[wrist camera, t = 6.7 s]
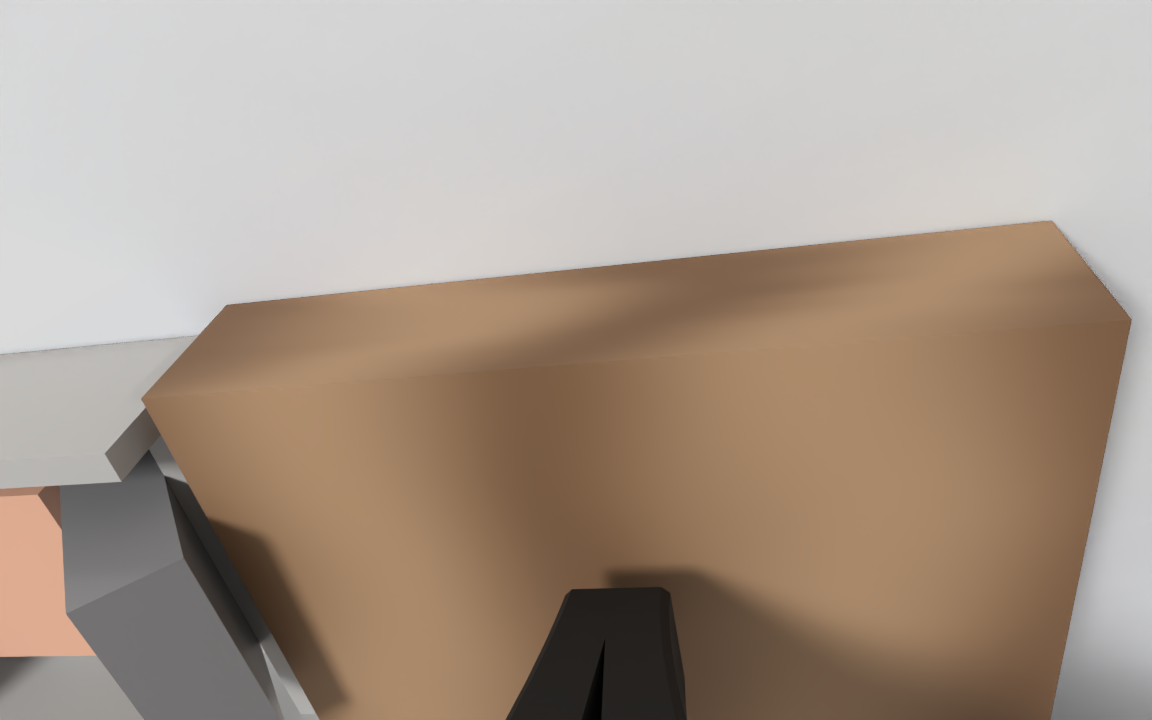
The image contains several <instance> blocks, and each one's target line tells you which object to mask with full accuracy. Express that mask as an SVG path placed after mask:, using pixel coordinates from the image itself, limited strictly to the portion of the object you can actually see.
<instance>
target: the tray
mask: <svg viewBox="0 0 1152 720" xmlns="http://www.w3.org/2000/svg"><path fill="white" fill-rule="evenodd" d="M197 337H198V336H190V337H179V338H169V339H158V340H148V341H137V342H127V343H116V344H105V345H95V346H84V347H74V348H63V349H53V350H42V351H32V352H21V353H11V354H0V489H6V488H23V487H41V486H58V485H75V484H92V483H109V482H122V481H123V480H124V478H125V477H126V476H127V475H128V474H129V472H130V471H131V470H132V469H133V468H134V466H135V465H136V464H137V463H138V462H139V460H140V459H141V458H142V457H143V456H144V454H145V453H146V452H147V451H148V450H150V452H151V454H152V456H153V457H154V459H155V461H156V463H157V464H158V466H159V468H160V470H161V471H162V473H163V475H164V476H165V478H166V480H167V482H168V483H169V485H170V487H171V489H172V490H173V492H174V494H175V496H176V497H177V499H178V501H179V503H180V504H181V506H182V508H183V510H184V511H185V513H186V515H187V517H188V518H189V520H190V522H191V524H192V525H193V527H194V529H195V531H196V532H197V534H198V536H199V538H200V539H201V541H202V543H203V545H204V546H205V548H206V550H207V552H208V553H209V555H210V557H211V559H212V560H213V562H214V564H215V566H216V567H217V569H218V571H219V573H220V574H221V576H222V578H223V580H224V581H225V583H226V585H227V587H228V588H229V590H230V592H231V594H232V595H233V597H234V599H235V600H236V602H237V604H238V606H239V607H240V609H241V611H242V613H243V614H244V616H245V618H246V620H247V621H248V623H249V625H250V627H251V628H252V630H253V632H254V634H255V635H256V637H257V639H258V641H259V642H260V645H261V648H262V651H263V654H264V658H265V661H266V664H267V667H268V670H269V673H270V676H271V680H272V683H273V686H274V689H275V692H276V695H277V698H278V702H279V705H280V708H281V711H282V714H283V717H284V720H319V718H318V716H317V714H316V713H315V711H314V709H313V707H312V705H311V704H310V702H309V700H308V698H307V697H306V695H305V693H304V691H303V689H302V688H301V686H300V684H299V682H298V680H297V679H296V677H295V675H294V673H293V671H292V670H291V668H290V666H289V664H288V662H287V661H286V659H285V657H284V655H283V653H282V652H281V650H280V648H279V646H278V644H277V643H276V641H275V639H274V637H273V635H272V634H271V632H270V630H269V628H268V626H267V625H266V623H265V621H264V619H263V617H262V616H261V614H260V612H259V610H258V608H257V607H256V605H255V603H254V601H253V599H252V598H251V596H250V594H249V592H248V590H247V589H246V587H245V585H244V583H243V581H242V580H241V578H240V576H239V574H238V572H237V571H236V569H235V567H234V565H233V563H232V562H231V560H230V558H229V556H228V554H227V553H226V551H225V549H224V547H223V545H222V544H221V542H220V540H219V538H218V537H217V535H216V533H215V531H214V529H213V528H212V526H211V524H210V522H209V520H208V519H207V517H206V515H205V513H204V511H203V510H202V508H201V506H200V504H199V502H198V501H197V499H196V497H195V495H194V493H193V492H192V490H191V488H190V486H189V484H188V483H187V481H186V479H185V477H184V475H183V474H182V472H181V470H180V468H179V466H178V465H177V463H176V461H175V459H174V457H173V456H172V454H171V452H170V450H169V448H168V447H167V445H166V443H165V441H164V439H163V438H162V436H161V434H160V432H159V430H158V429H157V427H156V425H155V423H154V421H153V420H152V418H151V416H150V414H149V412H148V411H147V409H146V407H145V405H144V403H143V402H142V400H141V398H142V397H143V396H144V395H145V394H146V392H147V391H148V390H149V389H150V388H151V387H152V386H153V385H154V384H155V383H156V382H157V380H158V379H159V378H160V377H161V376H162V375H163V374H164V373H165V372H166V371H167V370H168V368H169V367H170V366H171V365H172V364H173V363H174V362H175V361H176V360H177V359H178V358H179V356H180V355H181V354H182V353H183V352H184V351H185V350H186V349H187V348H188V347H189V346H190V344H191V343H192V342H193V341H194V340H195V339H196V338H197ZM0 720H144V719H143V718H142V716H141V715H140V714H139V712H138V711H137V709H136V708H135V707H134V705H133V704H132V703H131V701H130V700H129V699H128V697H127V696H126V695H125V693H124V692H123V691H122V689H121V688H120V686H119V685H118V684H117V682H116V681H115V680H114V678H113V677H112V676H111V674H110V673H109V672H108V670H107V669H106V668H105V666H104V665H103V663H102V662H101V661H100V659H99V658H98V657H97V656H25V657H0Z"/></svg>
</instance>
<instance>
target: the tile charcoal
mask: <svg viewBox="0 0 1152 720" xmlns="http://www.w3.org/2000/svg"><path fill="white" fill-rule="evenodd" d="M60 505H61V525H62V546H63V566H64V587H65V608H66V615H67V616H68V617H69V619H70V620H71V621H72V623H73V624H74V626H75V627H76V628H77V630H78V631H79V632H80V634H81V635H82V636H83V638H84V639H85V640H86V642H87V643H88V644H89V646H90V647H91V649H92V650H93V651H94V653H95V654H96V655H97V657H98V658H99V659H100V661H101V662H102V663H103V665H104V666H105V668H106V669H107V670H108V672H109V673H110V674H111V676H112V677H113V678H114V680H115V681H116V682H117V684H118V685H119V686H120V688H121V689H122V691H123V692H124V693H125V695H126V696H127V697H128V699H129V700H130V701H131V703H132V704H133V705H134V707H135V708H136V709H137V711H138V712H139V714H140V715H141V716H142V718H143V719H144V720H284V717H283V714H282V711H281V708H280V705H279V702H278V698H277V695H276V692H275V689H274V686H273V683H272V680H271V676H270V673H269V670H268V667H267V664H266V661H265V658H264V654H263V651H262V648H261V645H260V642H259V641H258V639H257V637H256V635H255V634H254V632H253V630H252V628H251V627H250V625H249V623H248V621H247V620H246V618H245V616H244V614H243V613H242V611H241V609H240V607H239V606H238V604H237V602H236V600H235V599H234V597H233V595H232V594H231V592H230V590H229V588H228V587H227V585H226V583H225V581H224V580H223V578H222V576H221V574H220V573H219V571H218V569H217V567H216V566H215V564H214V562H213V560H212V559H211V557H210V555H209V553H208V552H207V550H206V548H205V546H204V545H203V543H202V541H201V539H200V538H199V536H198V534H197V532H196V531H195V529H194V527H193V525H192V524H191V522H190V520H189V518H188V517H187V515H186V513H185V511H184V510H183V508H182V506H181V504H180V503H179V501H178V499H177V497H176V496H175V494H174V492H173V490H172V489H171V487H170V485H169V483H168V482H167V480H166V478H165V476H164V475H163V473H162V471H161V470H160V468H159V466H158V464H157V463H156V461H155V459H154V457H153V456H152V454H151V452H150V450H148V451H147V452H146V453H145V454H144V456H143V457H142V458H141V459H140V460H139V462H138V463H137V464H136V465H135V466H134V468H133V469H132V470H131V471H130V472H129V474H128V475H127V476H126V477H125V478H124V480H123V481H122V482H109V483H92V484H75V485H60Z"/></svg>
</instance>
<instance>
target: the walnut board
mask: <svg viewBox="0 0 1152 720" xmlns="http://www.w3.org/2000/svg"><path fill="white" fill-rule="evenodd" d="M1131 320H1132V319H1131V318H1130V317H1129V316H1128V314H1127V313H1126V312H1125V311H1124V309H1123V308H1122V307H1121V306H1120V305H1119V303H1118V302H1117V301H1116V300H1115V298H1114V297H1113V296H1112V295H1111V293H1110V292H1109V291H1108V290H1107V288H1106V287H1105V286H1104V285H1103V283H1102V282H1101V281H1100V280H1099V279H1098V277H1097V276H1096V275H1095V274H1094V272H1093V271H1092V270H1091V269H1090V267H1089V266H1088V265H1087V264H1086V262H1085V261H1084V260H1083V259H1082V258H1081V256H1080V255H1079V254H1078V253H1077V251H1076V250H1075V249H1074V248H1073V246H1072V245H1071V244H1070V243H1069V241H1068V240H1067V239H1066V238H1065V236H1064V235H1063V234H1062V233H1061V232H1060V230H1059V229H1058V228H1057V227H1056V225H1055V224H1054V223H1053V222H1052V221H1043V222H1033V223H1023V224H1013V225H1003V226H994V227H984V228H974V229H964V230H955V231H945V232H935V233H925V234H916V235H906V236H896V237H886V238H877V239H867V240H857V241H847V242H838V243H828V244H818V245H808V246H798V247H789V248H779V249H769V250H759V251H750V252H740V253H730V254H720V255H711V256H701V257H691V258H681V259H672V260H662V261H652V262H642V263H632V264H623V265H613V266H603V267H593V268H584V269H574V270H564V271H554V272H545V273H535V274H525V275H515V276H506V277H496V278H486V279H476V280H467V281H457V282H447V283H437V284H427V285H418V286H408V287H398V288H388V289H379V290H369V291H359V292H349V293H340V294H330V295H320V296H310V297H301V298H291V299H281V300H271V301H262V302H252V303H242V304H232V305H226V306H225V307H224V308H223V310H222V311H221V312H220V313H219V314H218V315H217V316H216V317H215V318H214V319H213V320H212V322H211V323H210V324H209V325H208V326H207V327H206V328H205V329H204V330H203V331H202V332H201V334H200V335H199V336H198V337H197V338H196V339H195V340H194V341H193V342H192V343H191V344H190V346H189V347H188V348H187V349H186V350H185V351H184V352H183V353H182V354H181V355H180V356H179V358H178V359H177V360H176V361H175V362H174V363H173V364H172V365H171V366H170V367H169V368H168V370H167V371H166V372H165V373H164V374H163V375H162V376H161V377H160V378H159V379H158V380H157V382H156V383H155V384H154V385H153V386H152V387H151V388H150V389H149V390H148V391H147V392H146V394H145V395H144V396H143V397H142V398H141V400H142V402H143V403H144V405H145V407H146V409H147V411H148V412H149V414H150V416H151V418H152V420H153V421H154V423H155V425H156V427H157V429H158V430H159V432H160V434H161V436H162V438H163V439H164V441H165V443H166V445H167V447H168V448H169V450H170V452H171V454H172V456H173V457H174V459H175V461H176V463H177V465H178V466H179V468H180V470H181V472H182V474H183V475H184V477H185V479H186V481H187V483H188V484H189V486H190V488H191V490H192V492H193V493H194V495H195V497H196V499H197V501H198V502H199V504H200V506H201V508H202V510H203V511H204V513H205V515H206V517H207V519H208V520H209V522H210V524H211V526H212V528H213V529H214V531H215V533H216V535H217V537H218V538H219V540H220V542H221V544H222V545H223V547H224V549H225V551H226V553H227V554H228V556H229V558H230V560H231V562H232V563H233V565H234V567H235V569H236V571H237V572H238V574H239V576H240V578H241V580H242V581H243V583H244V585H245V587H246V589H247V590H248V592H249V594H250V596H251V598H252V599H253V601H254V603H255V605H256V607H257V608H258V610H259V612H260V614H261V616H262V617H263V619H264V621H265V623H266V625H267V626H268V628H269V630H270V632H271V634H272V635H273V637H274V639H275V641H276V643H277V644H278V646H279V648H280V650H281V652H282V653H283V655H284V657H285V659H286V661H287V662H288V664H289V666H290V668H291V670H292V671H293V673H294V675H295V677H296V679H297V680H298V682H299V684H300V686H301V688H302V689H303V691H304V693H305V695H306V697H307V698H308V700H309V702H310V704H311V705H312V707H313V709H314V711H315V713H316V714H317V716H318V718H319V720H506V718H507V716H508V714H509V712H510V710H511V708H512V707H513V705H514V703H515V701H516V699H517V697H518V695H519V693H520V692H521V690H522V688H523V686H524V684H525V682H526V680H527V678H528V676H529V674H530V672H531V670H532V668H533V666H534V664H535V662H536V660H537V658H538V656H539V654H540V652H541V650H542V648H543V645H544V643H545V641H546V639H547V637H548V635H549V632H550V630H551V628H552V626H553V623H554V621H555V619H556V616H557V614H558V612H559V609H560V607H561V604H562V602H563V599H564V597H565V595H566V594H567V593H568V592H569V591H570V590H571V589H596V588H636V587H662V588H664V589H665V590H667V591H668V592H670V594H671V600H672V606H673V612H674V618H675V624H676V630H677V636H678V641H679V647H680V653H681V659H682V665H683V671H684V677H685V695H686V713H687V720H1050V718H1051V713H1052V708H1053V703H1054V698H1055V694H1056V689H1057V684H1058V679H1059V674H1060V669H1061V664H1062V659H1063V654H1064V649H1065V644H1066V639H1067V635H1068V630H1069V625H1070V620H1071V615H1072V610H1073V605H1074V600H1075V595H1076V590H1077V585H1078V580H1079V576H1080V571H1081V566H1082V561H1083V556H1084V551H1085V546H1086V541H1087V536H1088V531H1089V526H1090V521H1091V517H1092V512H1093V507H1094V502H1095V497H1096V492H1097V487H1098V482H1099V477H1100V472H1101V467H1102V462H1103V458H1104V453H1105V448H1106V443H1107V438H1108V433H1109V428H1110V423H1111V418H1112V413H1113V408H1114V403H1115V399H1116V394H1117V389H1118V384H1119V379H1120V374H1121V369H1122V364H1123V359H1124V354H1125V349H1126V344H1127V339H1128V335H1129V330H1130V325H1131Z"/></svg>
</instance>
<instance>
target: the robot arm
mask: <svg viewBox="0 0 1152 720" xmlns="http://www.w3.org/2000/svg"><path fill="white" fill-rule="evenodd" d="M506 720H687V713H686V695H685V677H684V671H683V665H682V659H681V653H680V647H679V641H678V636H677V630H676V624H675V618H674V612H673V606H672V600H671V594H670V592H668V591H667V590H665V589H664V588H662V587H636V588H596V589H571V590H570V591H569V592H568V593H567V594H566V595H565V597H564V599H563V602H562V604H561V607H560V609H559V612H558V614H557V616H556V619H555V621H554V623H553V626H552V628H551V630H550V632H549V635H548V637H547V639H546V641H545V643H544V645H543V648H542V650H541V652H540V654H539V656H538V658H537V660H536V662H535V664H534V666H533V668H532V670H531V672H530V674H529V676H528V678H527V680H526V682H525V684H524V686H523V688H522V690H521V692H520V693H519V695H518V697H517V699H516V701H515V703H514V705H513V707H512V708H511V710H510V712H509V714H508V716H507V718H506Z"/></svg>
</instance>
